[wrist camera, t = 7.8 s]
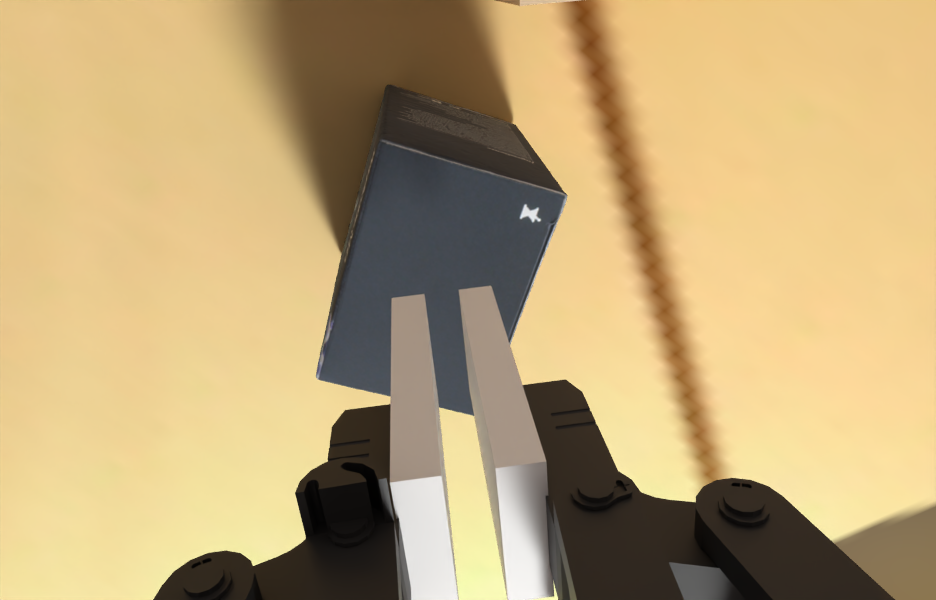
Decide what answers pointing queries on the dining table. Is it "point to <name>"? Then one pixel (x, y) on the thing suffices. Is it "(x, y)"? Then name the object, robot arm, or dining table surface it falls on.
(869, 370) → the dining table surface
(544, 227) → the box
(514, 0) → the carton
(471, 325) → the robot arm
